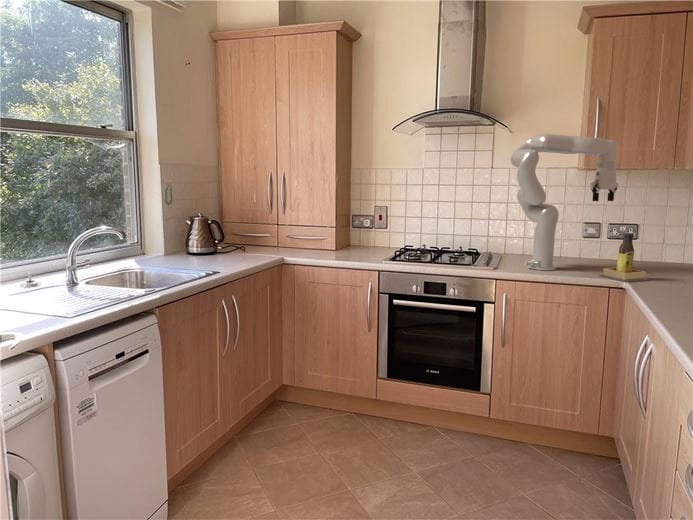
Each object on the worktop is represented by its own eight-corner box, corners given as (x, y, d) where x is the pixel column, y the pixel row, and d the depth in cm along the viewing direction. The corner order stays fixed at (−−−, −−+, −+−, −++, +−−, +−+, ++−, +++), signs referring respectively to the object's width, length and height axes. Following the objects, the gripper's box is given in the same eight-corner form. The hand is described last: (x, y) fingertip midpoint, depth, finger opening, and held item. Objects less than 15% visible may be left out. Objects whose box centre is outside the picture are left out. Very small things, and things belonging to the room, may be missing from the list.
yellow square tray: (625, 282, 228) (626, 273, 228) (599, 276, 241) (600, 268, 240) (648, 280, 233) (649, 272, 233) (622, 274, 246) (622, 266, 245)
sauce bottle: (626, 278, 233) (631, 234, 230) (613, 276, 238) (617, 232, 235) (634, 276, 237) (639, 233, 233) (620, 274, 242) (624, 231, 238)
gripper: (598, 165, 250) (595, 201, 253) (625, 166, 256) (622, 201, 259) (586, 165, 257) (583, 200, 260) (613, 166, 263) (610, 200, 266)
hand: (602, 201), depth 259 cm, fingers open, 9 cm apart
